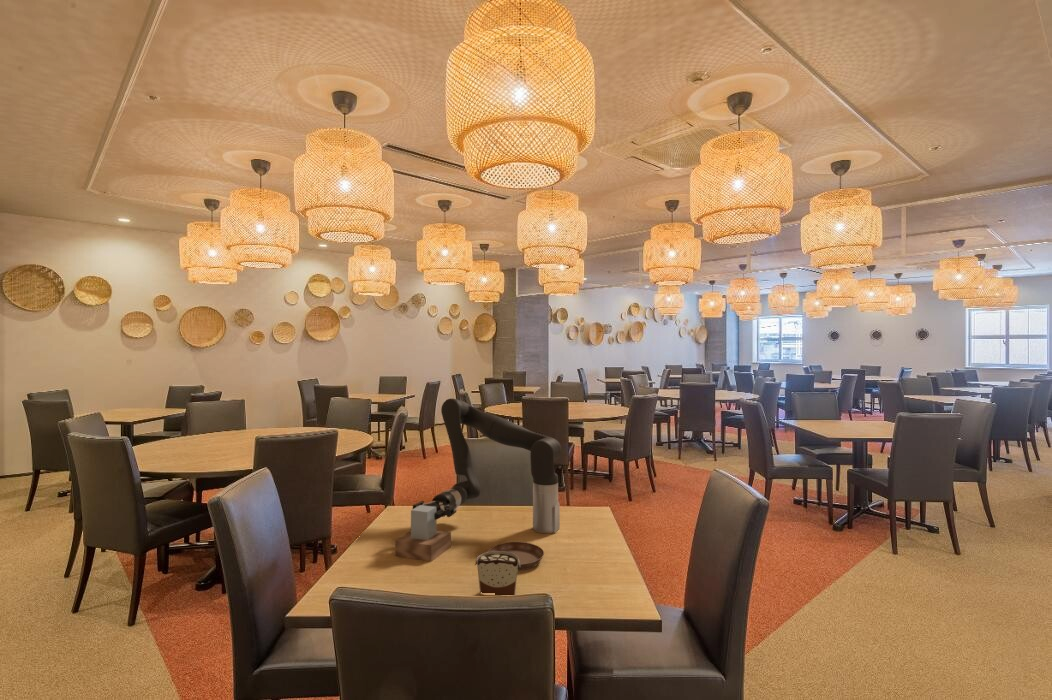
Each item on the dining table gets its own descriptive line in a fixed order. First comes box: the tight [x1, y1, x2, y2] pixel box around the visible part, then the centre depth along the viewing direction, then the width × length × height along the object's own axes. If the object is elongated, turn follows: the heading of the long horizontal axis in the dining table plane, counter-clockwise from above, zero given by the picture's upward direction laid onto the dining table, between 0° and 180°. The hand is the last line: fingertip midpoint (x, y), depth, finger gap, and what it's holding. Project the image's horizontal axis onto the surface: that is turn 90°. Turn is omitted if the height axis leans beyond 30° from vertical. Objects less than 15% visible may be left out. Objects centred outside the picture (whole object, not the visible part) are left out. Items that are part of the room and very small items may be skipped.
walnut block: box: [394, 529, 452, 562], centre depth 175 cm, size 13×13×5 cm
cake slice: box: [474, 551, 520, 596], centre depth 147 cm, size 12×6×10 cm, turn 84°
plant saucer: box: [487, 541, 545, 571], centre depth 168 cm, size 18×18×3 cm
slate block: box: [410, 505, 437, 540], centre depth 175 cm, size 6×6×9 cm
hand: (423, 515), depth 175 cm, fingers open, 8 cm apart
